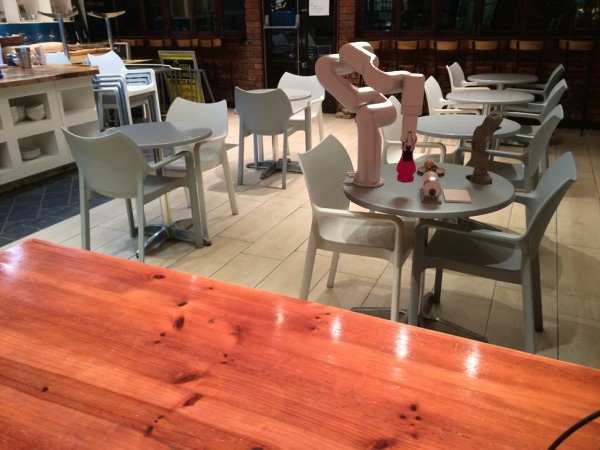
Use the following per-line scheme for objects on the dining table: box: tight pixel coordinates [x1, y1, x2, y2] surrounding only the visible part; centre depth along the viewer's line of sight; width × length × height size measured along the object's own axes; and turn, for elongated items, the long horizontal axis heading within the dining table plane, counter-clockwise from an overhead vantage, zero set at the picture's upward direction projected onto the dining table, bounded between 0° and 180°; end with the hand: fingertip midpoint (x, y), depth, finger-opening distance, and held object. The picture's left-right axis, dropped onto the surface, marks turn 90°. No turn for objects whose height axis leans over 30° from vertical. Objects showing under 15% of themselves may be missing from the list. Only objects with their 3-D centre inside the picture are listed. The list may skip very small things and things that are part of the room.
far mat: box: [442, 188, 472, 204], centre depth 184 cm, size 9×12×1 cm
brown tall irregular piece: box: [465, 112, 504, 185], centre depth 196 cm, size 13×7×29 cm, turn 25°
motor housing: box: [419, 171, 443, 205], centre depth 185 cm, size 7×16×7 cm, turn 170°
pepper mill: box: [396, 135, 418, 184], centre depth 182 cm, size 7×7×20 cm
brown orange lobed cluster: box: [416, 159, 446, 178], centre depth 211 cm, size 12×12×8 cm
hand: (407, 158), depth 183 cm, fingers closed on pepper mill, 5 cm apart
